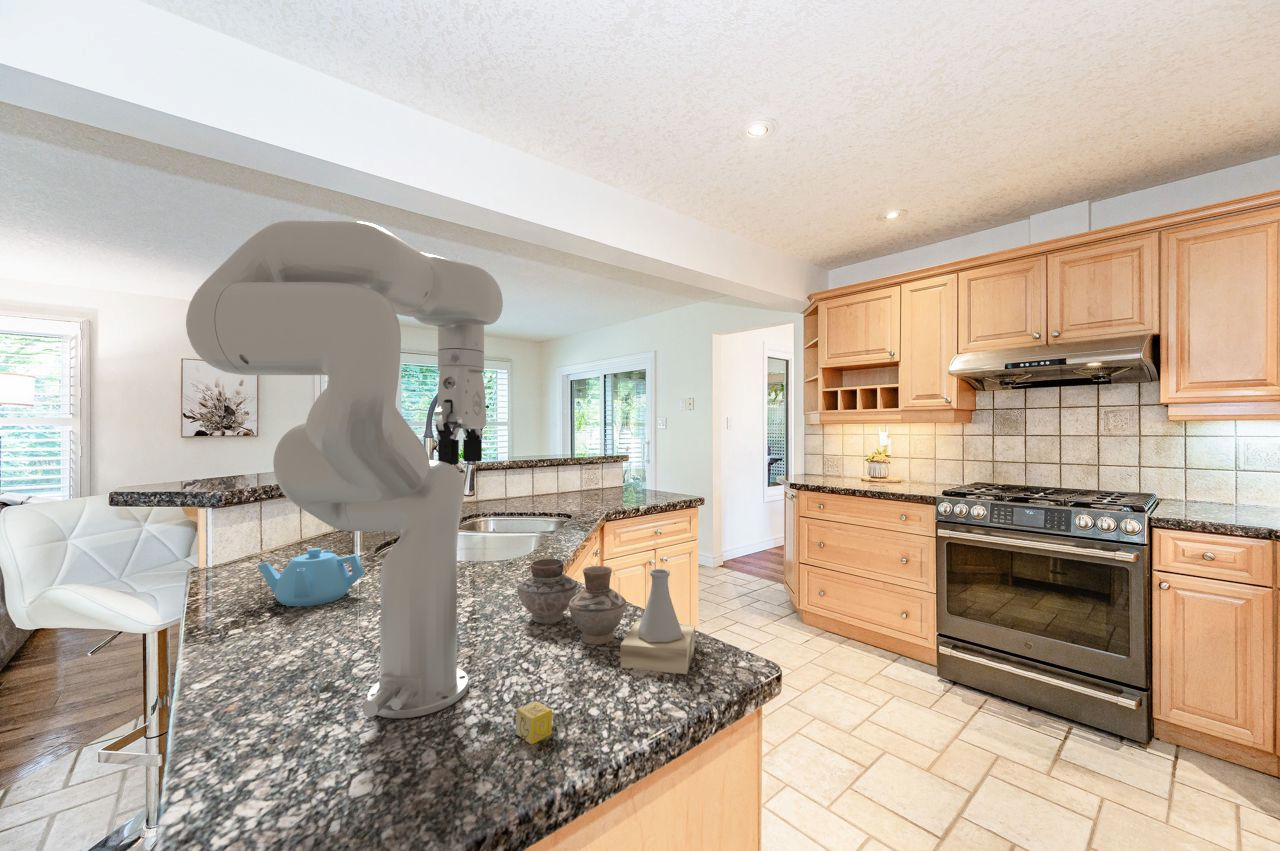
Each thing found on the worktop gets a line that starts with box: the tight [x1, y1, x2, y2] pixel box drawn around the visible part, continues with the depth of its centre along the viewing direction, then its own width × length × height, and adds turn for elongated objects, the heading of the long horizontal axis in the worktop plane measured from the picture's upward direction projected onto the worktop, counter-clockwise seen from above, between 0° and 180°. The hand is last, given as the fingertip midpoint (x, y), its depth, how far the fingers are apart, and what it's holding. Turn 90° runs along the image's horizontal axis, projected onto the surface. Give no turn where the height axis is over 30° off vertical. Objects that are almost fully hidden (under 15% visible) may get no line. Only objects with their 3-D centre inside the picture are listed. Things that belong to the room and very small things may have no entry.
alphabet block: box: [515, 700, 553, 745], centre depth 61 cm, size 3×3×3 cm
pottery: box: [517, 558, 627, 646], centre depth 94 cm, size 11×25×12 cm, turn 47°
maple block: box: [619, 620, 696, 675], centre depth 82 cm, size 10×10×4 cm
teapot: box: [257, 547, 366, 607], centre depth 112 cm, size 15×15×11 cm
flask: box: [638, 568, 682, 642], centre depth 81 cm, size 7×7×10 cm
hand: (461, 462), depth 89 cm, fingers open, 9 cm apart
